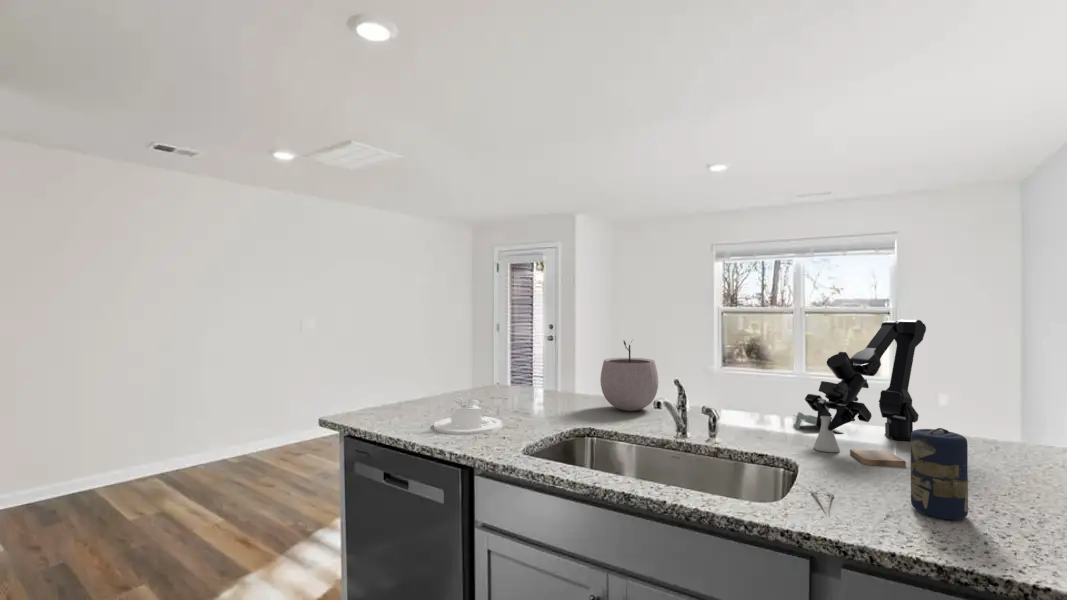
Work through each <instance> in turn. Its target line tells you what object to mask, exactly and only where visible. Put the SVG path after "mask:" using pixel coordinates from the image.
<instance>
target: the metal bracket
mask: <svg viewBox="0 0 1067 600" xmlns="http://www.w3.org/2000/svg"><path fill="white" fill-rule="evenodd" d="M792 416H794V417H796V419H795V422H794V423H793V425H792V426H793V427H794V428H796V429H798V430H800V426H801V424H802V422H804V423H807V424H810V425H814V426H816V422H817V416H814V415H808V414H807V415H806V414H803V412H801V411H799V412H797V415H795V414H792ZM833 432H834V433H835V432H836V433H838V434H842V435H845V433H844V432H842V431H840V430H838V429H837V428H835V429H833Z"/></svg>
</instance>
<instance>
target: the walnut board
mask: <svg viewBox="0 0 1067 600" xmlns="http://www.w3.org/2000/svg"><path fill="white" fill-rule="evenodd" d="M849 455H850V456H852V457H853V458H854V459H855V460H857V461H859V462H861V463H862V464H863V465H866V466H882V467H885V466H886V467H901V468H902V467H904V468H905V467H907V463H906V460H905V459H903V458H901V457H899V456H898V455H896V454H894V453H892V452H890V451H889V450H879V449H878V450H873V449H855V448H853V449H852V448H851V449H849Z"/></svg>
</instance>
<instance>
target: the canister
mask: <svg viewBox="0 0 1067 600" xmlns="http://www.w3.org/2000/svg"><path fill="white" fill-rule="evenodd" d="M968 453H969V452H968V440H967V438H966V436H964V435H962V434H959V433H956V432H952V431H949V430H948V429H945V428H942V427H937V428H935V429H933V428H918V429H915V430H914V429H913V432H912V433H911V441H910V464H909V465H910V467H909V468H910V504H911V506H912V507H913V508H914V509H915V510H916V511H918V512H920V513H922V514H924V515H927V516H930V517H934V518H939V519H944V520H963V519H965V518H966V517H967V516H968V513H969V477H968V476H969V474H968V468H969V466H968V461H969V460H968V456H969V455H968Z"/></svg>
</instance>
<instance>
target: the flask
mask: <svg viewBox="0 0 1067 600" xmlns="http://www.w3.org/2000/svg"><path fill="white" fill-rule="evenodd" d="M820 418H821V427H819V428H820V429H819V431H818V434H817V438H816V440H815V442H814V445H813V449H814V450H816V451H819V452H824V453H825V452H826V453H840V451H841V448H840V446H839V443H838V441H837V438H836V436H835V432H834V431H833V430H831V431H829V430H828V426H829V424H830V423H831V421H832V419H833V417H832V416H831V417H830V416H820Z"/></svg>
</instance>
